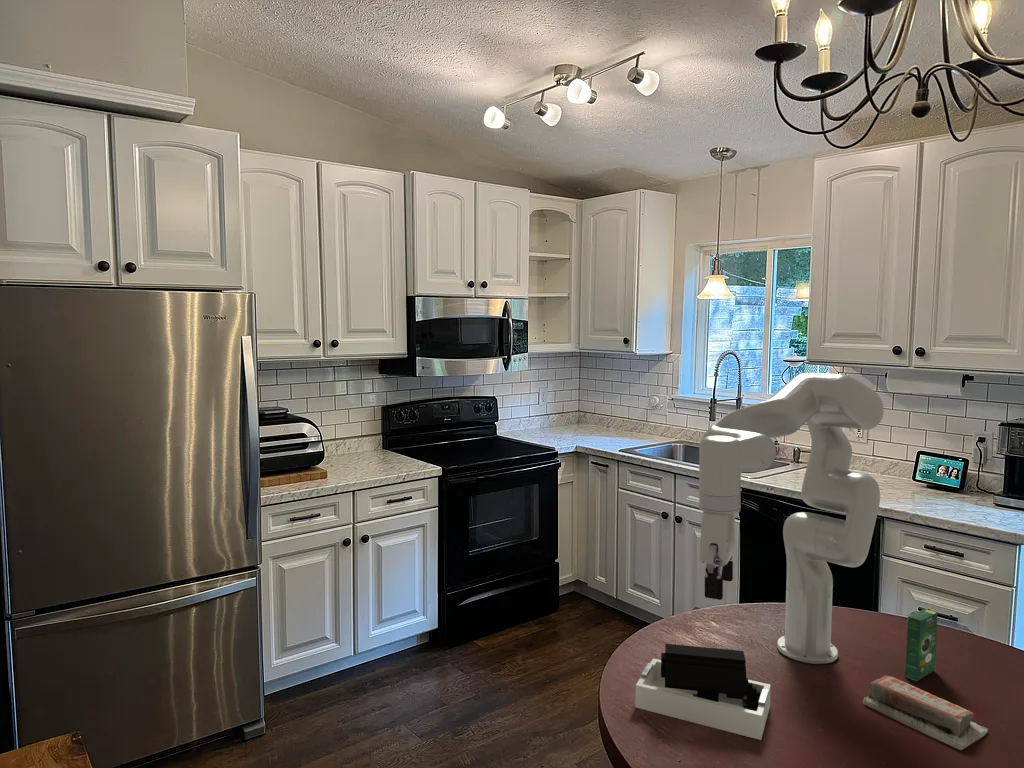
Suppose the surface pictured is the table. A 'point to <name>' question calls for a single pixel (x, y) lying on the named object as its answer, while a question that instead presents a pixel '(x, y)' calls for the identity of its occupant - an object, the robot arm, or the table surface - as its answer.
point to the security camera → (708, 673)
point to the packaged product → (924, 712)
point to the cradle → (701, 704)
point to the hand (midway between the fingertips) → (719, 588)
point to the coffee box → (921, 644)
